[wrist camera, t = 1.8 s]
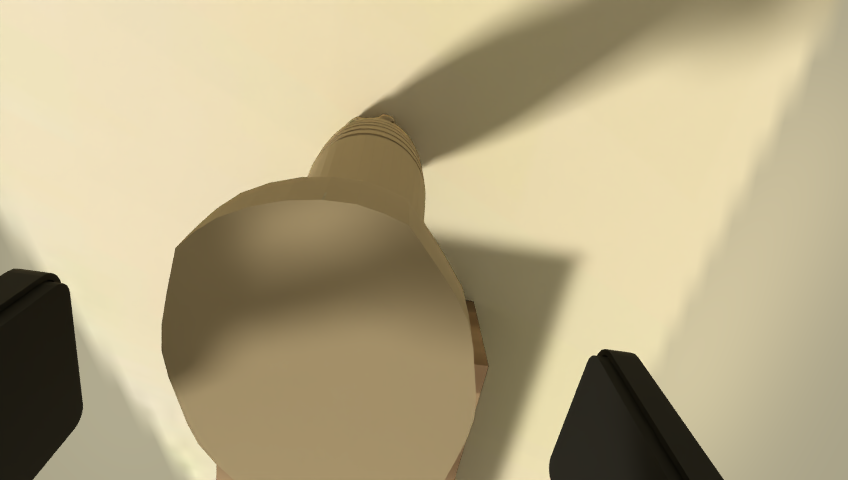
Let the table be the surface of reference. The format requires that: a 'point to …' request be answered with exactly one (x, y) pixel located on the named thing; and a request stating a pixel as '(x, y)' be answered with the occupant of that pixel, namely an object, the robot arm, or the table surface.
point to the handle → (324, 323)
